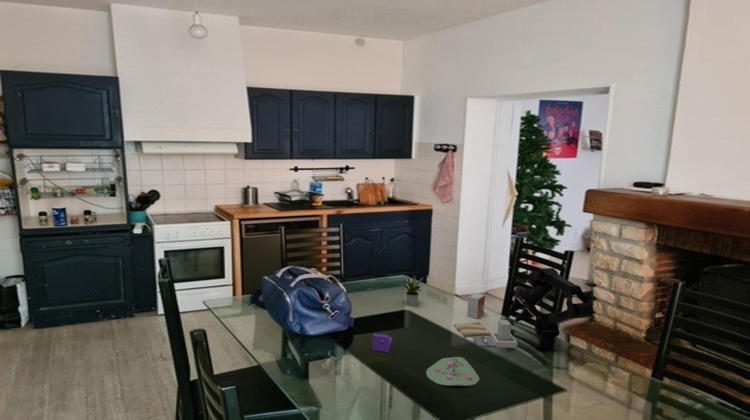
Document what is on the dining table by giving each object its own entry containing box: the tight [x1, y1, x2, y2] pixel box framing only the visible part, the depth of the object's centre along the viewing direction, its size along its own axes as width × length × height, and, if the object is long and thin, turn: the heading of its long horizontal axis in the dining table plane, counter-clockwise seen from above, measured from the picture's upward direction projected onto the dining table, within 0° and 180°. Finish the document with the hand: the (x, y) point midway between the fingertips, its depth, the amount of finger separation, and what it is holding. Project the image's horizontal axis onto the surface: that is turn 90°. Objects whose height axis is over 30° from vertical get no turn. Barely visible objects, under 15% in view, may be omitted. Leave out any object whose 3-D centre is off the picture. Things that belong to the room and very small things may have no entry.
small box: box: [466, 292, 486, 320], centre depth 249 cm, size 8×6×10 cm
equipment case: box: [472, 332, 518, 349], centre depth 218 cm, size 17×10×2 cm, turn 93°
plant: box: [425, 355, 480, 387], centre depth 191 cm, size 25×21×9 cm
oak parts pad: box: [453, 322, 491, 338], centre depth 231 cm, size 13×13×1 cm
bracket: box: [371, 333, 394, 353], centre depth 212 cm, size 12×7×7 cm, turn 170°
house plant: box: [401, 275, 424, 307], centre depth 261 cm, size 14×14×16 cm
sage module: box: [497, 319, 512, 341], centre depth 218 cm, size 4×5×10 cm
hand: (512, 316), depth 217 cm, fingers open, 9 cm apart
